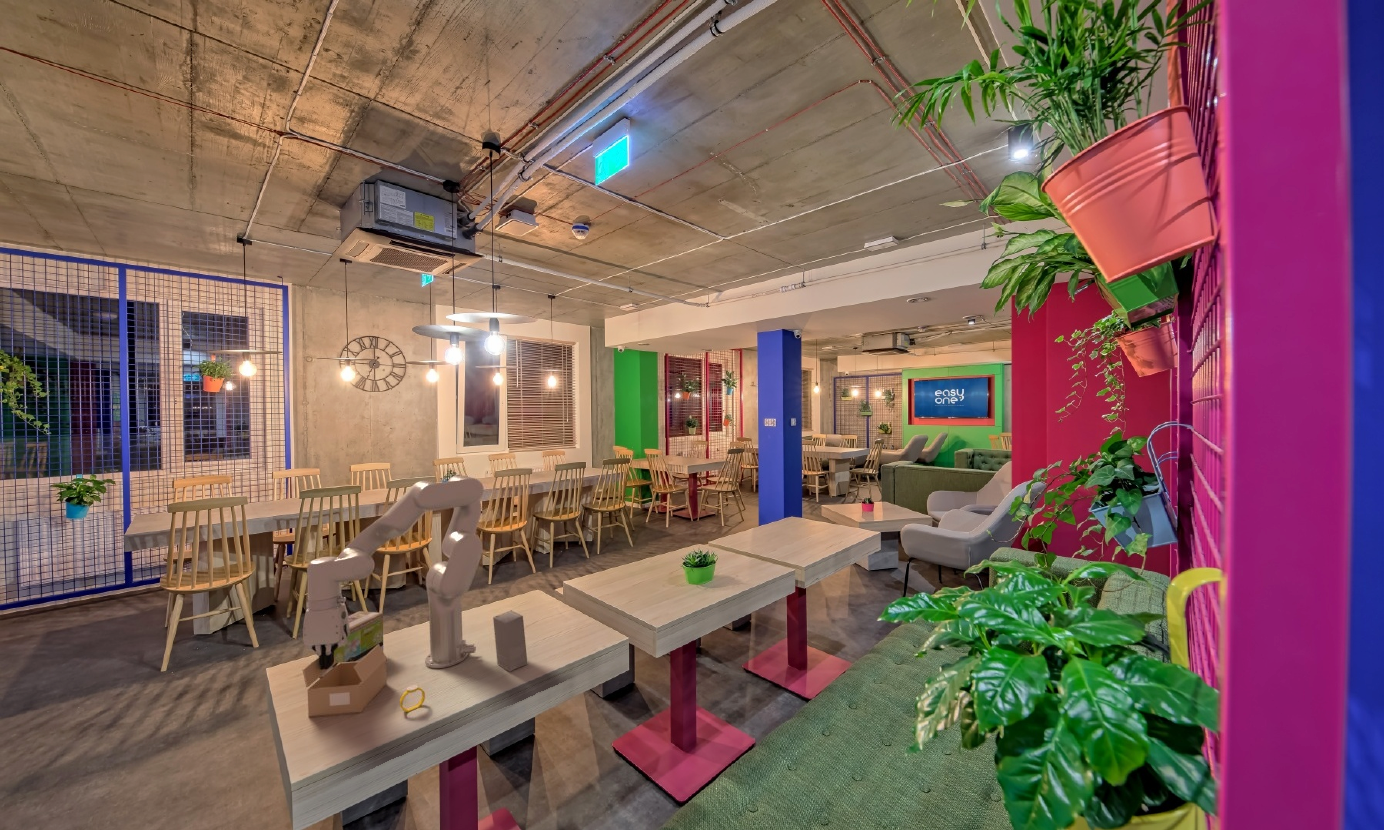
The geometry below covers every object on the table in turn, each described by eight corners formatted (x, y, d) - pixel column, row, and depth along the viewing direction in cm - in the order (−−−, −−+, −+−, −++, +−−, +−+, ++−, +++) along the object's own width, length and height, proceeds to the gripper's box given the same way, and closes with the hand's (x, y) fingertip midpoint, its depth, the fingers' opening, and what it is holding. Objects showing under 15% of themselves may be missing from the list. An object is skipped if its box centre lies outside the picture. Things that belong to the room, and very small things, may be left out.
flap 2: (385, 659, 146) (386, 658, 146) (362, 682, 134) (363, 681, 134) (377, 644, 146) (378, 644, 146) (353, 666, 134) (354, 665, 134)
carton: (386, 683, 147) (385, 659, 147) (359, 713, 133) (358, 685, 133) (340, 687, 146) (339, 662, 146) (308, 717, 132) (307, 689, 132)
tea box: (345, 680, 150) (343, 632, 150) (317, 677, 152) (316, 629, 152) (385, 655, 165) (383, 611, 165) (359, 652, 167) (358, 609, 167)
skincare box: (527, 664, 157) (526, 615, 156) (506, 673, 151) (504, 622, 151) (515, 655, 162) (513, 608, 162) (493, 664, 157) (492, 615, 157)
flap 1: (332, 646, 145) (331, 646, 145) (303, 669, 132) (302, 669, 132) (336, 663, 145) (334, 663, 145) (307, 686, 133) (306, 687, 133)
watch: (422, 703, 138) (423, 681, 138) (425, 707, 136) (426, 685, 136) (398, 711, 133) (399, 689, 134) (401, 715, 132) (402, 693, 132)
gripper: (360, 595, 143) (362, 658, 143) (305, 598, 141) (307, 662, 142) (345, 606, 136) (347, 672, 136) (286, 609, 134) (288, 676, 134)
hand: (326, 666), depth 139 cm, fingers closed
